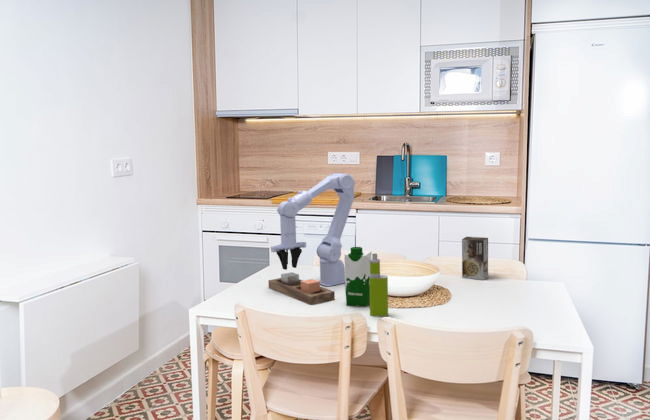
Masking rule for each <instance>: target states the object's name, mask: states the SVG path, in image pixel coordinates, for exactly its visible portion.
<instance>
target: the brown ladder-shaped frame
mask: <svg viewBox="0 0 650 420" xmlns="http://www.w3.org/2000/svg"><path fill="white" fill-rule="evenodd" d="M301 281H304V280H302V279H300V278H299V283H298V284H293V285H286V284H284V283H281V277H278V278H273V279H268V289H271V290H273V291H276V292H277V293H280V294H283V295H286V296H287V297H291V298H293V299H296V300H298V301H301V302H303V303H305V304H308V305H311V306H313V305H318V304H322V303H327V302H331V301H335V294H336V293H335V290H334V291H333V290H331V289H328V288H326V287H322V286H320V291H316V292H312V293H308V292H305V291H302V290H301Z"/></svg>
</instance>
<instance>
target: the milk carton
mask: <svg viewBox="0 0 650 420" xmlns="http://www.w3.org/2000/svg"><path fill="white" fill-rule="evenodd" d="M370 259H372V250H363V247H361V246H352V247H350V250H349V251H347V252H346V253H344V267H345V283H344V286H345V288H344V289H345V291H344V292H345V302H346V306H351V307H364V308H366V307H367V306H368V305H369V304H370V303H369V302H370V285H369V276H370ZM368 303H369V304H368Z"/></svg>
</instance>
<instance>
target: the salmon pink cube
mask: <svg viewBox="0 0 650 420" xmlns="http://www.w3.org/2000/svg"><path fill="white" fill-rule="evenodd" d="M319 281H320V280H316V279H313V278H311V279H305V280H303V281H301V290H302V291H305V292H308V293H310V294H311V293H312V292H316V291H320V287H321V284H320V282H319Z"/></svg>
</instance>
